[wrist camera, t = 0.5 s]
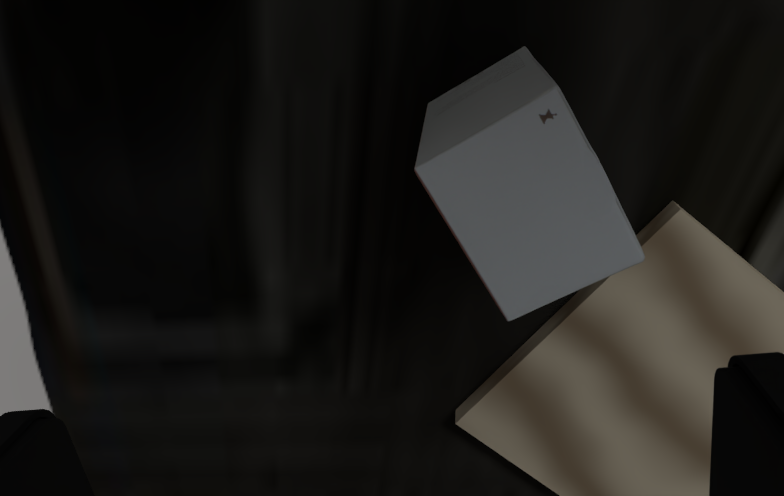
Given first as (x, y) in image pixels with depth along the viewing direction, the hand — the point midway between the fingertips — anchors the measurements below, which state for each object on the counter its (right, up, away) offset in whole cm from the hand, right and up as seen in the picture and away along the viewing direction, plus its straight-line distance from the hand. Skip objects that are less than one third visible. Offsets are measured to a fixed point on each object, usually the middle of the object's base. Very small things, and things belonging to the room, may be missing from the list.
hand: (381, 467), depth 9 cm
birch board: (+19, -7, +33) cm, 39 cm away
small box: (+7, +10, +28) cm, 30 cm away
